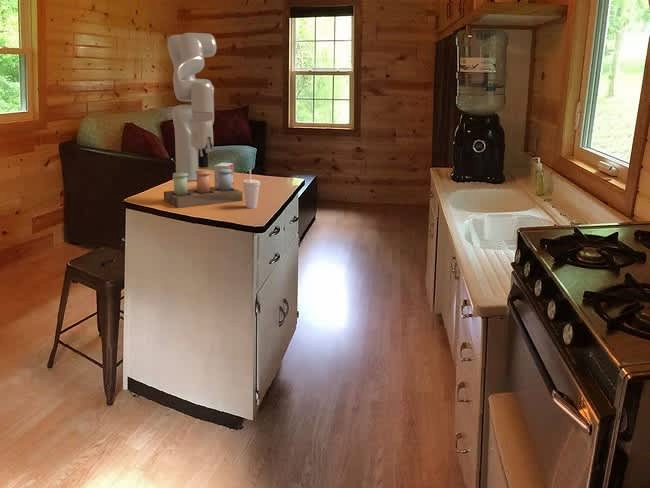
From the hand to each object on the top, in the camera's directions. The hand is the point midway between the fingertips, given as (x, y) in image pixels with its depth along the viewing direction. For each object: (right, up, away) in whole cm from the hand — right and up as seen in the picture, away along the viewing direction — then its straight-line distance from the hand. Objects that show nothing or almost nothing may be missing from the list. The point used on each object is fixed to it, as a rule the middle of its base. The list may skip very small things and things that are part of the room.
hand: (203, 167), depth 231 cm
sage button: (-8, -10, -2) cm, 13 cm away
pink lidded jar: (0, -9, +3) cm, 10 cm away
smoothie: (+18, -15, -3) cm, 24 cm away
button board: (-1, -12, +4) cm, 13 cm away
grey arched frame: (+4, -7, +24) cm, 25 cm away
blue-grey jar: (+7, -8, +8) cm, 13 cm away
